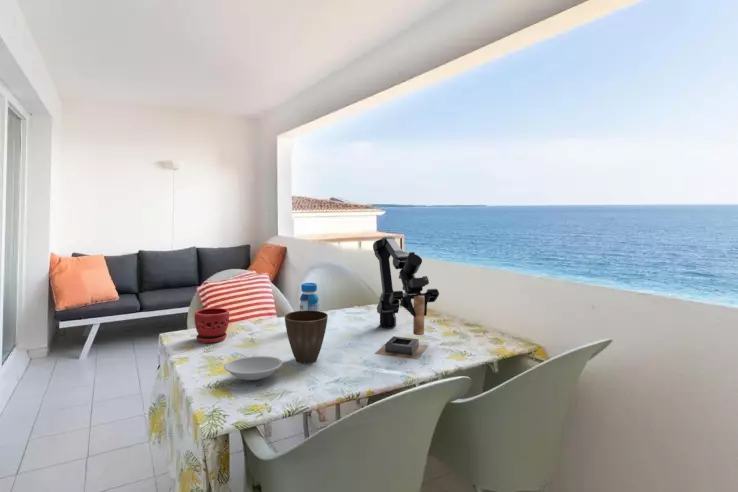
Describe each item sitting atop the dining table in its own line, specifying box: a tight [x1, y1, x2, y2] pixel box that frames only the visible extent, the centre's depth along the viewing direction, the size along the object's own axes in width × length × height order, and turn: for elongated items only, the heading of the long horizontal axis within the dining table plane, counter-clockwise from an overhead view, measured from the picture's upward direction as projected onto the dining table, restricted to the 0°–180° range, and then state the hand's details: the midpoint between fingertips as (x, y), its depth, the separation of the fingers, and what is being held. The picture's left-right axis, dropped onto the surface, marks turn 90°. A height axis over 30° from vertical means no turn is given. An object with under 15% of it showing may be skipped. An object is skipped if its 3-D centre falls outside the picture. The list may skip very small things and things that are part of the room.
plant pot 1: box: [194, 307, 230, 344], centre depth 173 cm, size 13×13×12 cm
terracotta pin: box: [412, 296, 425, 336], centre depth 159 cm, size 4×4×14 cm
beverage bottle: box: [299, 282, 320, 311], centre depth 188 cm, size 8×8×20 cm
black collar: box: [384, 335, 420, 355], centre depth 158 cm, size 10×10×3 cm
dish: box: [223, 355, 283, 381], centre depth 133 cm, size 18×14×5 cm
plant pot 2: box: [284, 310, 329, 364], centre depth 149 cm, size 15×15×16 cm
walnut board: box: [374, 343, 429, 360], centre depth 158 cm, size 16×16×1 cm
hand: (420, 315), depth 158 cm, fingers closed on terracotta pin, 4 cm apart
